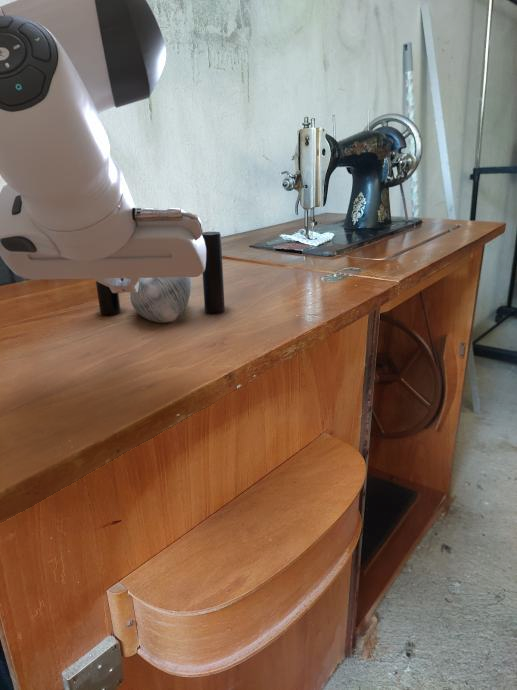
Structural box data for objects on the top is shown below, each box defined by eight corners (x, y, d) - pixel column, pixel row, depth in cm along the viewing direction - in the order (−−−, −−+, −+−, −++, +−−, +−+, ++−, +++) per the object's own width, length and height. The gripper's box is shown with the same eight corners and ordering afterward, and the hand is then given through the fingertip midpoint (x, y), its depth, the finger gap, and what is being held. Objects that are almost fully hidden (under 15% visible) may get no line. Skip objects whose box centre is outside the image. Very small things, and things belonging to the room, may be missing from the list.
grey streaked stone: (148, 306, 86) (113, 260, 80) (198, 278, 85) (166, 229, 79) (157, 353, 75) (117, 303, 69) (214, 321, 74) (178, 268, 68)
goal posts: (98, 317, 78) (86, 237, 73) (104, 311, 80) (93, 234, 76) (223, 315, 77) (219, 234, 73) (225, 309, 80) (221, 231, 75)
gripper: (199, 182, 48) (216, 263, 61) (-14, 186, 49) (46, 265, 62) (195, 238, 46) (214, 310, 59) (-30, 241, 47) (36, 312, 59)
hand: (126, 287), depth 60 cm, fingers closed
